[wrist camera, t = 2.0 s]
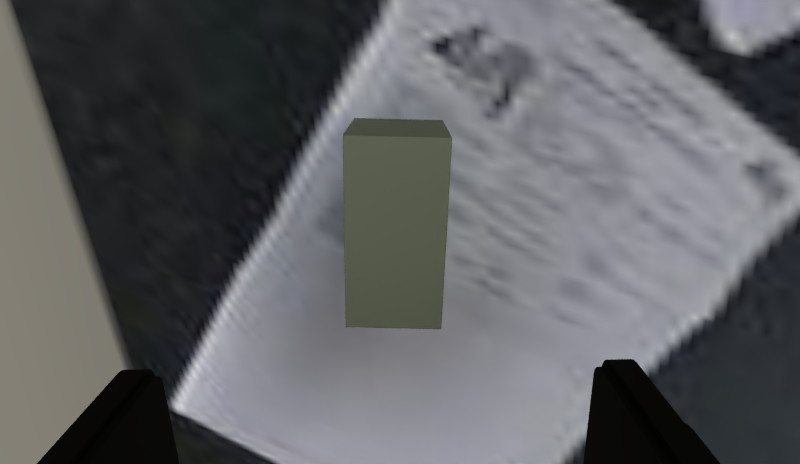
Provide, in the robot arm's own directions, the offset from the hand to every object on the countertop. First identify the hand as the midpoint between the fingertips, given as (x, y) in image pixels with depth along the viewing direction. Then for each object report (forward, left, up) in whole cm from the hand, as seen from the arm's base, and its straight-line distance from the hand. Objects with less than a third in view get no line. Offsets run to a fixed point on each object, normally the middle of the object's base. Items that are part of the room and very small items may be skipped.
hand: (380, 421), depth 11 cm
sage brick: (-1, 0, -15) cm, 15 cm away
